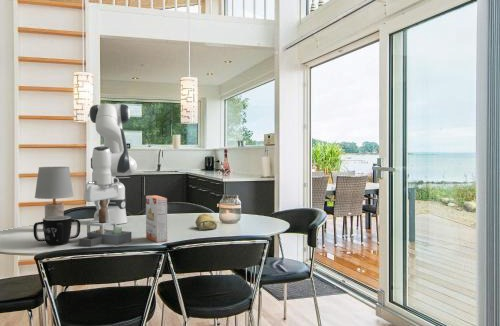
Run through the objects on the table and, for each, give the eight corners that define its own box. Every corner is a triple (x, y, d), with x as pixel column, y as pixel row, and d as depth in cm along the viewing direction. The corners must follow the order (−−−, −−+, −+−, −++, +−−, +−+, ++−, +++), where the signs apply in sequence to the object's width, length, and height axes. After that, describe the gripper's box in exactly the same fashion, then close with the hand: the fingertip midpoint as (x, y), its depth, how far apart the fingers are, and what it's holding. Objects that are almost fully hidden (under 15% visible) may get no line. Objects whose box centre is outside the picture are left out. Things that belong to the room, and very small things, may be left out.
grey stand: (86, 240, 203) (86, 223, 202) (101, 237, 212) (101, 220, 212) (117, 244, 195) (117, 225, 195) (131, 240, 205) (131, 222, 204)
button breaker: (96, 239, 204) (96, 229, 204) (101, 237, 208) (101, 228, 208) (102, 239, 203) (102, 230, 203) (107, 238, 206) (107, 229, 206)
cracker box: (145, 237, 211) (145, 195, 210) (156, 236, 214) (156, 194, 213) (155, 243, 199) (155, 198, 198) (167, 241, 202) (167, 197, 202)
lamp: (43, 234, 217) (43, 168, 216) (29, 229, 230) (28, 167, 229) (79, 229, 231) (79, 167, 230) (64, 225, 244) (63, 166, 243)
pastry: (203, 225, 247) (203, 211, 247) (222, 227, 241) (222, 213, 241) (189, 229, 234) (189, 215, 234) (208, 231, 228) (208, 216, 228)
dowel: (97, 224, 205) (97, 190, 204) (102, 222, 208) (102, 190, 207) (102, 224, 203) (102, 191, 203) (107, 223, 206) (107, 190, 206)
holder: (79, 245, 193) (79, 238, 193) (90, 242, 200) (90, 235, 200) (91, 246, 191) (91, 239, 190) (102, 243, 197) (102, 237, 197)
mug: (29, 245, 192) (29, 219, 191) (57, 239, 207) (57, 214, 206) (57, 248, 186) (57, 221, 186) (84, 241, 201) (84, 216, 201)
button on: (112, 237, 201) (112, 228, 200) (117, 236, 204) (117, 226, 204) (118, 238, 199) (118, 228, 199) (123, 236, 203) (123, 227, 202)
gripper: (91, 182, 194) (91, 212, 195) (121, 179, 213) (121, 206, 213) (80, 181, 196) (80, 211, 197) (111, 178, 215) (111, 205, 216)
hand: (102, 209), depth 205 cm, fingers closed on dowel, 3 cm apart
